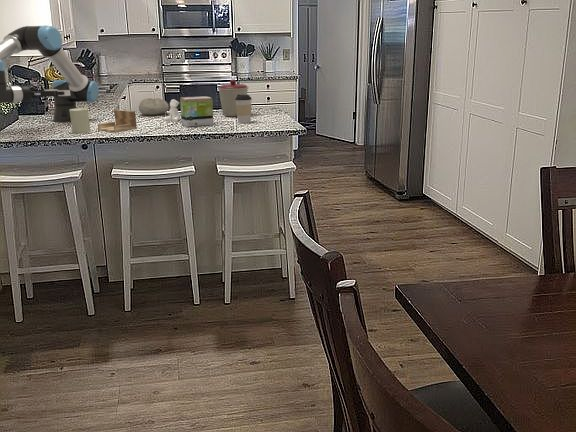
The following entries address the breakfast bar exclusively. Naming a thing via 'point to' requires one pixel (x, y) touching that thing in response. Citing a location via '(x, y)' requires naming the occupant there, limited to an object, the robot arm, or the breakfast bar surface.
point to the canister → (231, 97)
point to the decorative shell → (153, 106)
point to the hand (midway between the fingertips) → (63, 92)
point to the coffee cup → (243, 108)
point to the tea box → (196, 111)
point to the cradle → (120, 122)
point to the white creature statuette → (173, 112)
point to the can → (80, 120)
